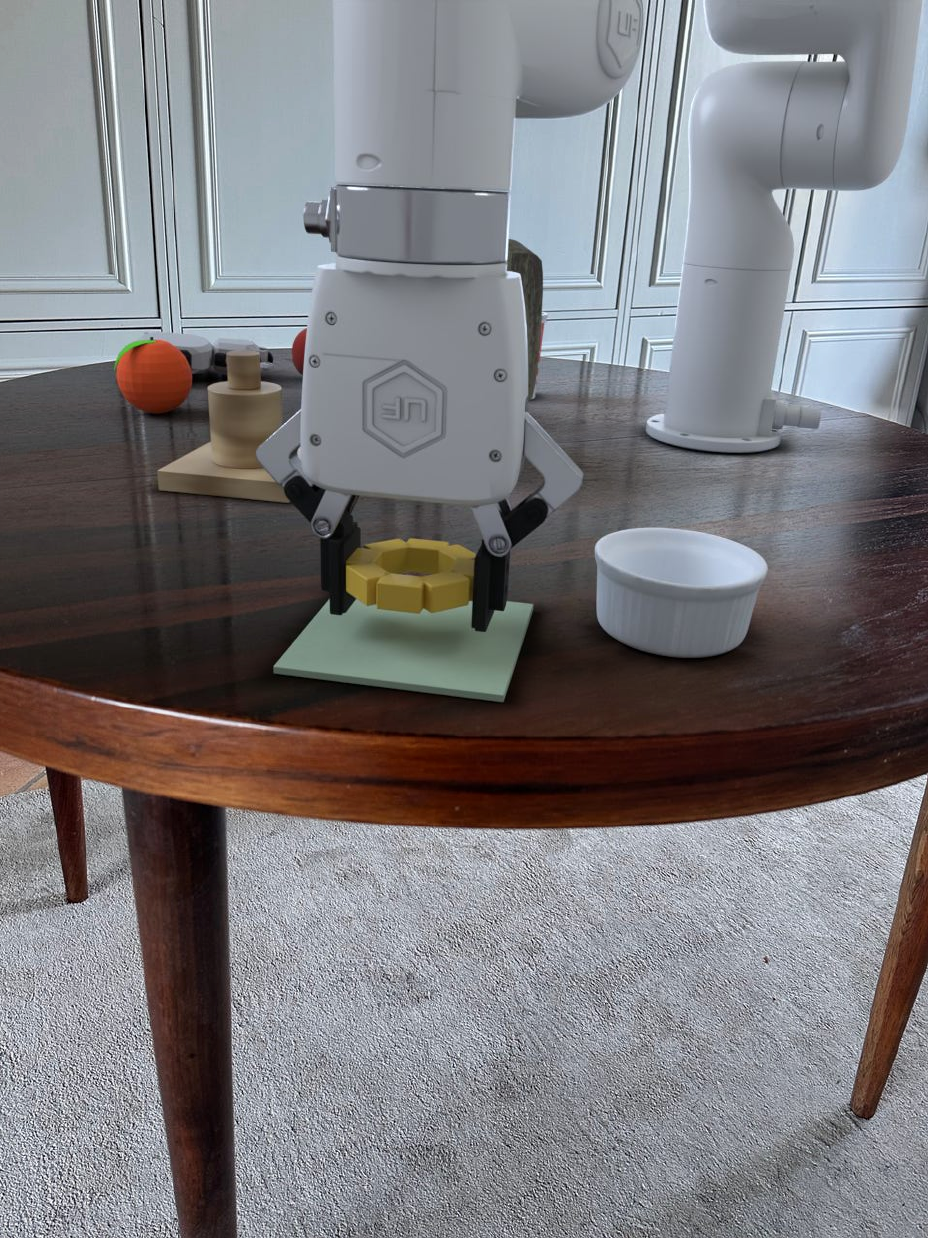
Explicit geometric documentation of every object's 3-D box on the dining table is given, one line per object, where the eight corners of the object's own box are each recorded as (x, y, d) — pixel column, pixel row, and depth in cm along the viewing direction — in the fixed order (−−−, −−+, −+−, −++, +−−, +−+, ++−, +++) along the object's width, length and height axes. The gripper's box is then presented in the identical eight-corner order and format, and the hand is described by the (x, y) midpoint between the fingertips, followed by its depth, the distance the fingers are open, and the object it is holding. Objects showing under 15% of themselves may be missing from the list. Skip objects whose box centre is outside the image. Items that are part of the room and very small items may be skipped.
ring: (489, 571, 52) (491, 545, 51) (466, 620, 46) (468, 592, 46) (368, 558, 53) (368, 533, 52) (330, 604, 47) (330, 577, 47)
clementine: (144, 426, 90) (136, 346, 88) (95, 414, 94) (86, 337, 91) (209, 412, 97) (205, 337, 94) (161, 402, 100) (155, 329, 97)
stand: (331, 467, 80) (329, 347, 76) (288, 503, 71) (284, 368, 67) (215, 457, 82) (207, 338, 78) (158, 490, 73) (147, 358, 69)
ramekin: (716, 595, 58) (727, 525, 56) (783, 663, 50) (798, 583, 48) (569, 599, 57) (576, 527, 55) (614, 669, 49) (624, 587, 47)
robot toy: (269, 374, 120) (140, 365, 116) (271, 336, 118) (139, 325, 115) (275, 395, 109) (132, 385, 105) (277, 353, 108) (131, 341, 104)
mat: (533, 610, 55) (533, 603, 55) (503, 702, 45) (503, 695, 45) (342, 589, 57) (342, 582, 56) (273, 673, 47) (273, 666, 47)
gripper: (197, 228, 41) (222, 623, 48) (618, 251, 38) (578, 665, 45) (264, 223, 48) (277, 570, 55) (626, 242, 45) (590, 604, 52)
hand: (413, 610), depth 50 cm, fingers closed on ring, 6 cm apart
